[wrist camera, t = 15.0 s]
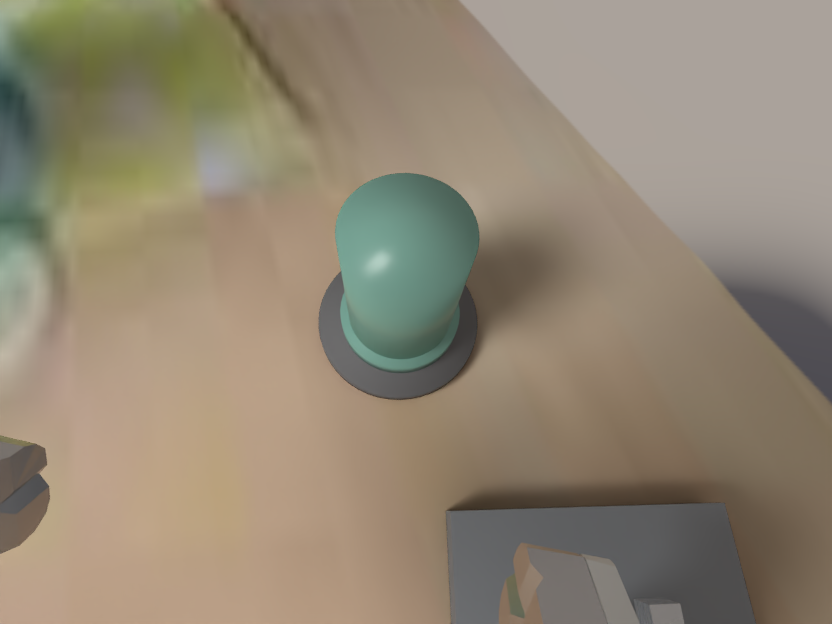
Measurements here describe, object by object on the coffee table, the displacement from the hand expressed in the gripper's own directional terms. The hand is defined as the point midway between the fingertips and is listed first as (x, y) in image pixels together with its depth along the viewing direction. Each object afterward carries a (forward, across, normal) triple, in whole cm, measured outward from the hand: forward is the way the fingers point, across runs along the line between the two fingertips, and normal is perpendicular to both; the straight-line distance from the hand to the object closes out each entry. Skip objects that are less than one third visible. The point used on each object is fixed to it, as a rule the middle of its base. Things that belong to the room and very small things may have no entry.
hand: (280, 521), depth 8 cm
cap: (+16, -1, +2) cm, 16 cm away
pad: (+16, -1, +2) cm, 16 cm away
